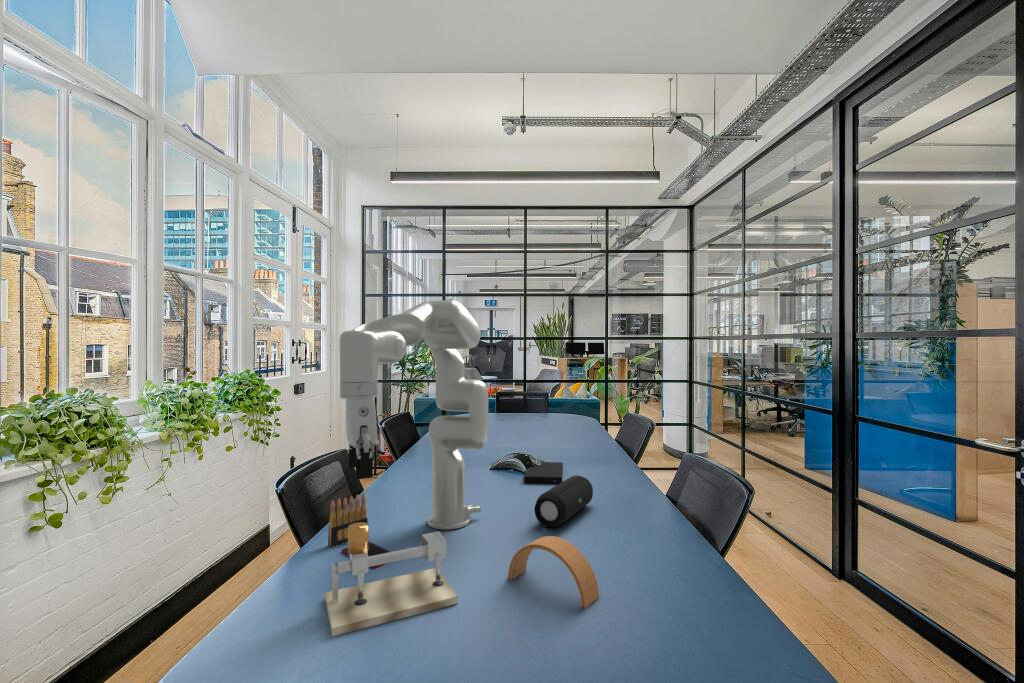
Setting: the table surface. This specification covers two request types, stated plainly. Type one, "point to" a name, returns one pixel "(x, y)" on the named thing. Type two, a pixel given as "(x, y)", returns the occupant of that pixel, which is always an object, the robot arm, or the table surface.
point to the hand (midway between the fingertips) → (360, 472)
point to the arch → (568, 557)
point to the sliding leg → (359, 552)
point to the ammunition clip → (345, 519)
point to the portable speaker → (563, 501)
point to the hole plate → (388, 601)
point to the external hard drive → (544, 473)
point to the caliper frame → (399, 558)
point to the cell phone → (371, 552)
